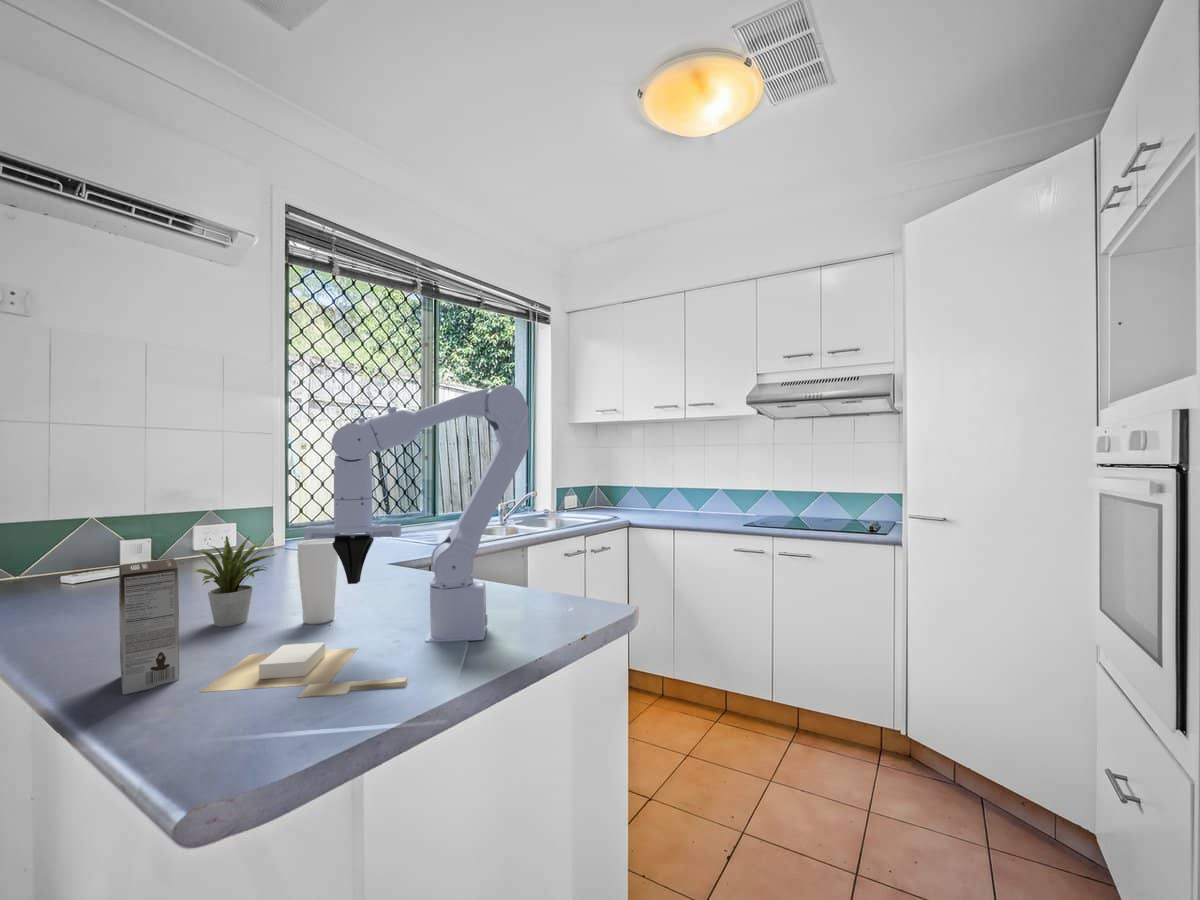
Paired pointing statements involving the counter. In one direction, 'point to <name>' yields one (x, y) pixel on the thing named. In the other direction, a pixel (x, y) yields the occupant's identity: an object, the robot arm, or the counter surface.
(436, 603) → the robot arm
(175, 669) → the coffee box
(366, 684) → the beech spatula
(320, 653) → the white block
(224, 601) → the house plant
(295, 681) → the bamboo mat
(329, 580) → the drinking glass
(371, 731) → the counter surface
